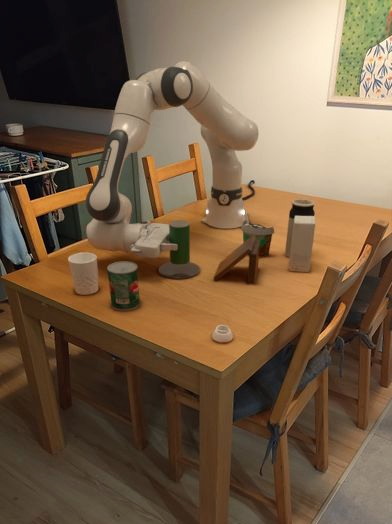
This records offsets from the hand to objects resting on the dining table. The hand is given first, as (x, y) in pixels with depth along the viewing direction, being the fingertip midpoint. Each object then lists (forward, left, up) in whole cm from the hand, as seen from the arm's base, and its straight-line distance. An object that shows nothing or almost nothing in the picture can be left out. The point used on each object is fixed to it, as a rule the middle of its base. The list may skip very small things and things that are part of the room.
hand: (180, 242), depth 142 cm
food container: (-19, +20, -10) cm, 29 cm away
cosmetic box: (-11, +36, -10) cm, 39 cm away
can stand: (-1, +17, -9) cm, 20 cm away
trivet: (0, -1, -9) cm, 9 cm away
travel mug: (-21, +35, -10) cm, 42 cm away
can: (0, 0, 0) cm, 0 cm away
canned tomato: (+25, -10, -10) cm, 28 cm away
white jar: (+37, +19, -10) cm, 43 cm away
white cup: (+19, -24, -10) cm, 32 cm away
